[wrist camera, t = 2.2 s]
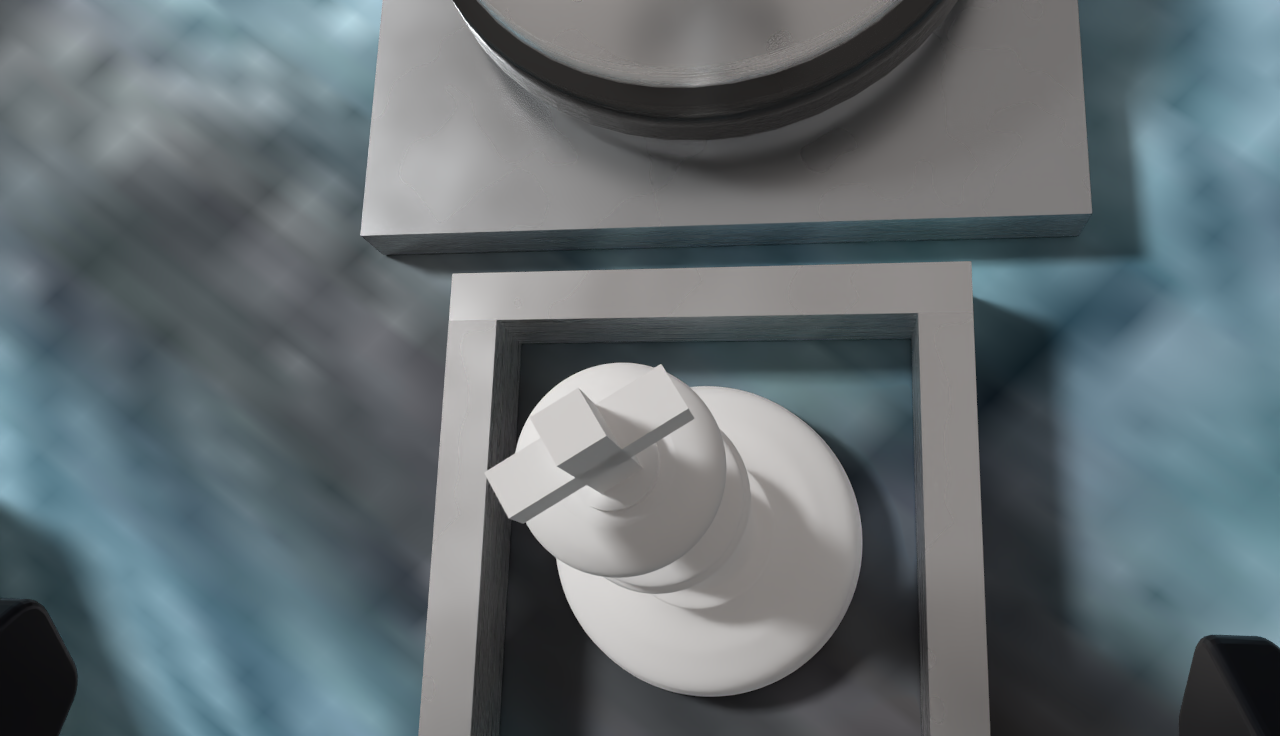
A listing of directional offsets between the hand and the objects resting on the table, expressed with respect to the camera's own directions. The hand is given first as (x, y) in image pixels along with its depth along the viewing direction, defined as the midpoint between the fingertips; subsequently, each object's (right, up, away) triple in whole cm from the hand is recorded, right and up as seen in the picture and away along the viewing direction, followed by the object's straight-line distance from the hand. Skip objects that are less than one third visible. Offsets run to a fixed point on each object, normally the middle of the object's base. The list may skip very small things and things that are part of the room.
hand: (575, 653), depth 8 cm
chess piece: (+2, -1, +10) cm, 10 cm away
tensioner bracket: (+2, +6, +11) cm, 12 cm away
